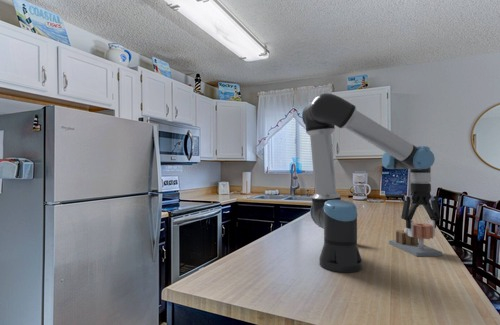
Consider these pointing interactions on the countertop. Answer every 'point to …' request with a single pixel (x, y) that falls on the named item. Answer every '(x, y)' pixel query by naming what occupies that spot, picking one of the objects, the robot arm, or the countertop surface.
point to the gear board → (413, 244)
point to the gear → (422, 230)
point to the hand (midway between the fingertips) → (421, 235)
